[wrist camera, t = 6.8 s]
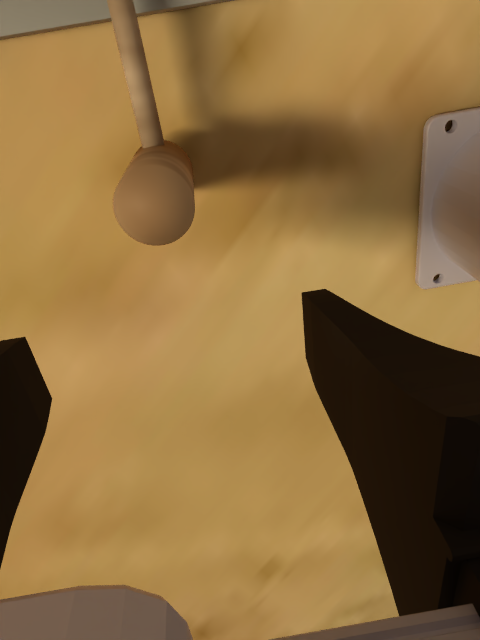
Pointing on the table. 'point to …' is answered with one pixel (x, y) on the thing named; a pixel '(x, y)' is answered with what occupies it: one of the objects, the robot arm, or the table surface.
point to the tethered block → (149, 151)
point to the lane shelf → (73, 13)
